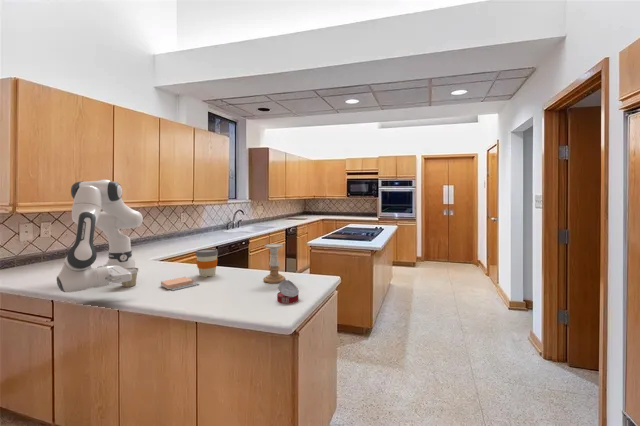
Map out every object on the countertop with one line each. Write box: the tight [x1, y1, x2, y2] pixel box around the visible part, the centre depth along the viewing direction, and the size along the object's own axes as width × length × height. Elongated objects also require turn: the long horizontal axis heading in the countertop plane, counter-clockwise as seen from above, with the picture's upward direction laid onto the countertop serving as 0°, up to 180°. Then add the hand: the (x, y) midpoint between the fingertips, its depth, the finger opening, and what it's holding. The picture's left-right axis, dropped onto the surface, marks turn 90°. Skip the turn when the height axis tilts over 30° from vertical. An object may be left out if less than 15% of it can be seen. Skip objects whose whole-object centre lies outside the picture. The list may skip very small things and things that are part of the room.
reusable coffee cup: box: [195, 248, 219, 278], centre depth 191 cm, size 13×13×15 cm
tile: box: [160, 276, 194, 290], centre depth 170 cm, size 10×2×13 cm
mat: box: [169, 281, 200, 292], centre depth 171 cm, size 16×14×1 cm
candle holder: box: [262, 243, 286, 284], centre depth 179 cm, size 12×12×20 cm
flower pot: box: [121, 267, 140, 288], centre depth 170 cm, size 9×9×9 cm
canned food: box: [276, 279, 300, 304], centre depth 147 cm, size 11×10×10 cm
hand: (136, 270), depth 156 cm, fingers closed
